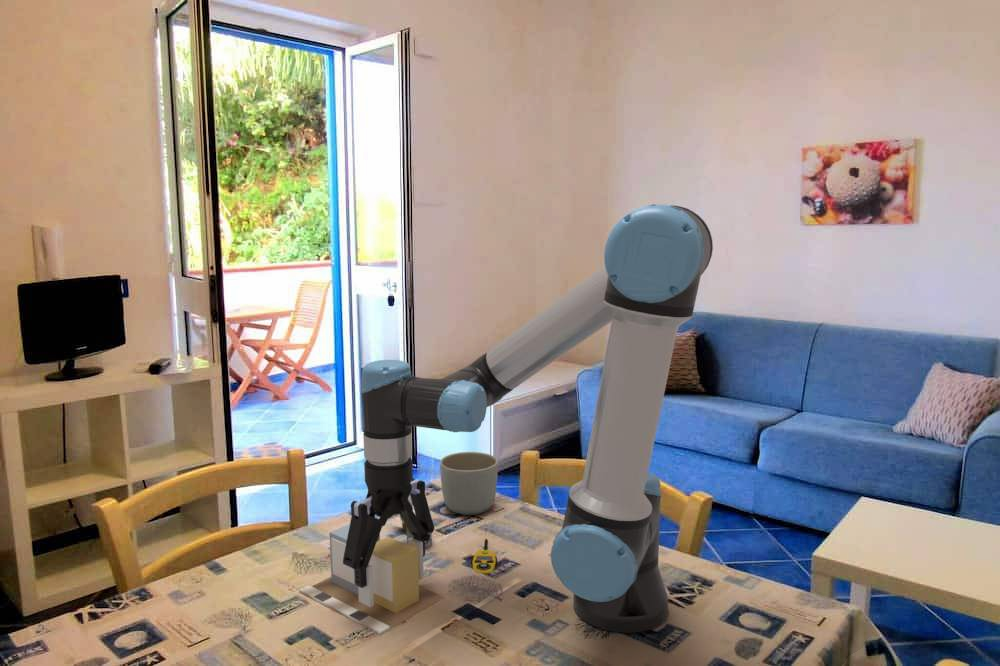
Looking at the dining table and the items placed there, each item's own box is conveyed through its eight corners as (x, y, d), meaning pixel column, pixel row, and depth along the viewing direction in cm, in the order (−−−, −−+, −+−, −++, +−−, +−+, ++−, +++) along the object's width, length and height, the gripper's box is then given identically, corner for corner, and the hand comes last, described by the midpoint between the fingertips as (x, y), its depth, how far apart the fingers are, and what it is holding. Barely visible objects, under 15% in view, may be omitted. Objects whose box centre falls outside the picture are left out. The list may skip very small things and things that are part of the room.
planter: (474, 493, 168) (473, 448, 167) (509, 510, 159) (509, 461, 157) (429, 507, 161) (428, 459, 159) (464, 525, 151) (463, 475, 149)
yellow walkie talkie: (469, 571, 129) (474, 533, 144) (469, 581, 129) (473, 543, 144) (497, 571, 129) (498, 534, 143) (496, 581, 129) (498, 543, 144)
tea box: (389, 586, 124) (387, 536, 123) (419, 600, 120) (417, 548, 118) (365, 599, 120) (363, 547, 119) (395, 613, 116) (393, 560, 114)
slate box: (354, 571, 130) (352, 522, 128) (381, 583, 125) (379, 533, 124) (330, 582, 126) (328, 532, 124) (357, 595, 121) (355, 544, 120)
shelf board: (444, 603, 121) (444, 594, 121) (380, 642, 110) (380, 631, 110) (364, 567, 133) (364, 558, 133) (299, 598, 123) (299, 589, 123)
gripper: (422, 437, 127) (425, 557, 131) (313, 473, 110) (320, 611, 113) (454, 445, 122) (456, 570, 126) (346, 484, 105) (352, 628, 109)
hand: (392, 589), depth 120 cm, fingers open, 10 cm apart
